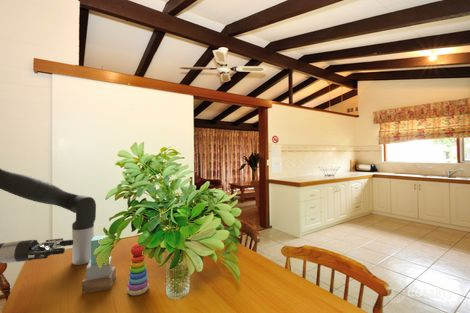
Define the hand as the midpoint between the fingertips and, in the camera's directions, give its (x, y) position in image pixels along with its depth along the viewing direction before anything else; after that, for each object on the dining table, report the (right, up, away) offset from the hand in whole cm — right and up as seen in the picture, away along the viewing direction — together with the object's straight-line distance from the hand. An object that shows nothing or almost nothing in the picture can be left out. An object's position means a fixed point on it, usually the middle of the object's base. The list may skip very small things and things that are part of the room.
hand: (68, 246), depth 92 cm
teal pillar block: (+10, -8, +3) cm, 13 cm away
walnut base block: (+10, -18, +3) cm, 21 cm away
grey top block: (+10, -13, +3) cm, 17 cm away
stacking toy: (+28, -18, -1) cm, 33 cm away
